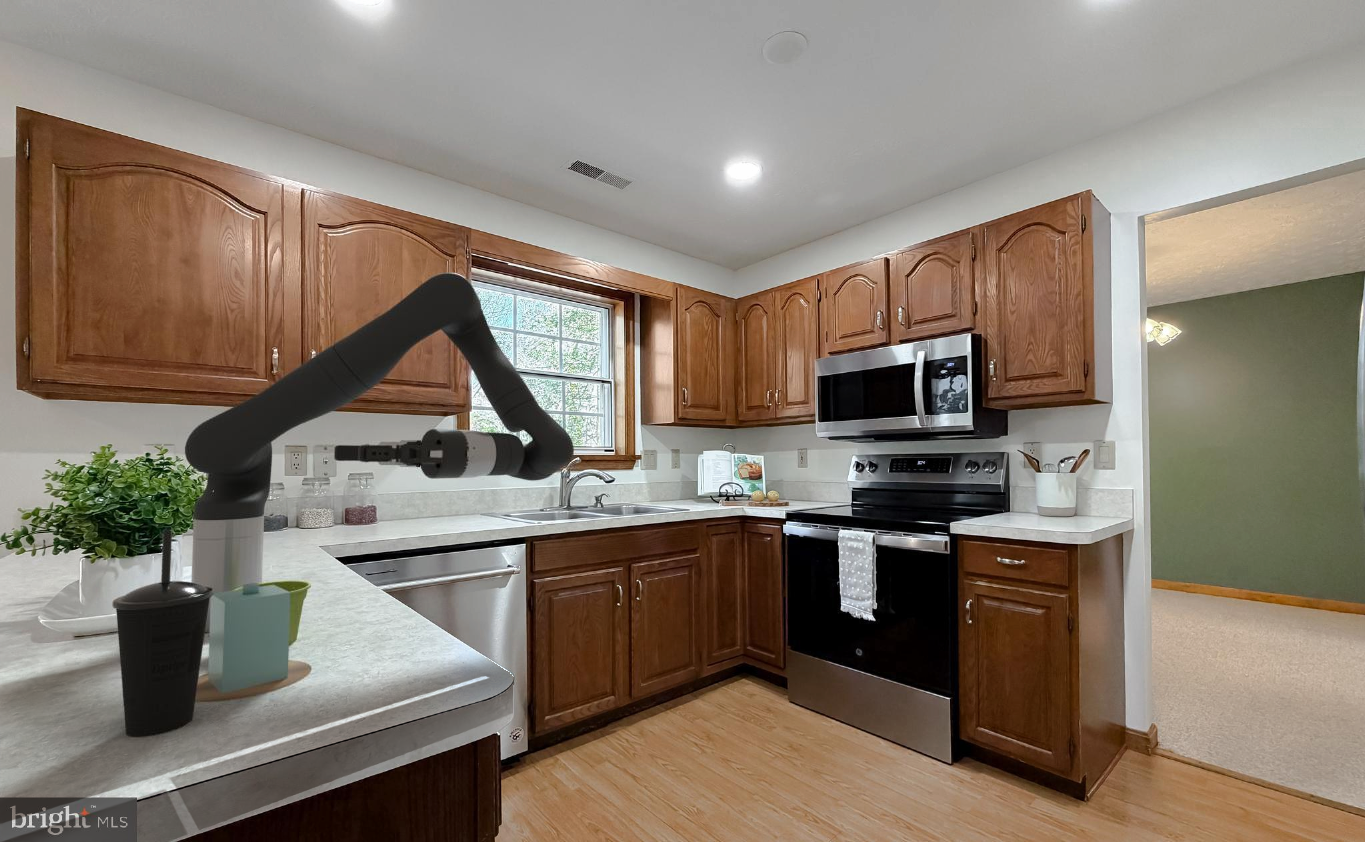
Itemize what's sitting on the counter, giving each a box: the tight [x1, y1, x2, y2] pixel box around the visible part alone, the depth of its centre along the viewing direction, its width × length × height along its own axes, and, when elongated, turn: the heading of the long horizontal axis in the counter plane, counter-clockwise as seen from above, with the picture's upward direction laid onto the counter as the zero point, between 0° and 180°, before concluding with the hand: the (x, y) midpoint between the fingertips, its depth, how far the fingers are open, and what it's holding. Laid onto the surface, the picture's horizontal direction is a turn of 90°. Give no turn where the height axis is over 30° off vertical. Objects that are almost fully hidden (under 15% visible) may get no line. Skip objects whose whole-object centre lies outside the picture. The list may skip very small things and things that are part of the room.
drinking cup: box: [111, 529, 214, 738], centre depth 60 cm, size 8×8×20 cm
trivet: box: [195, 659, 312, 703], centre depth 72 cm, size 13×13×1 cm
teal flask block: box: [207, 583, 290, 694], centre depth 72 cm, size 6×6×11 cm
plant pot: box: [233, 580, 312, 645], centre depth 86 cm, size 9×9×9 cm
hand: (346, 453), depth 83 cm, fingers open, 8 cm apart
